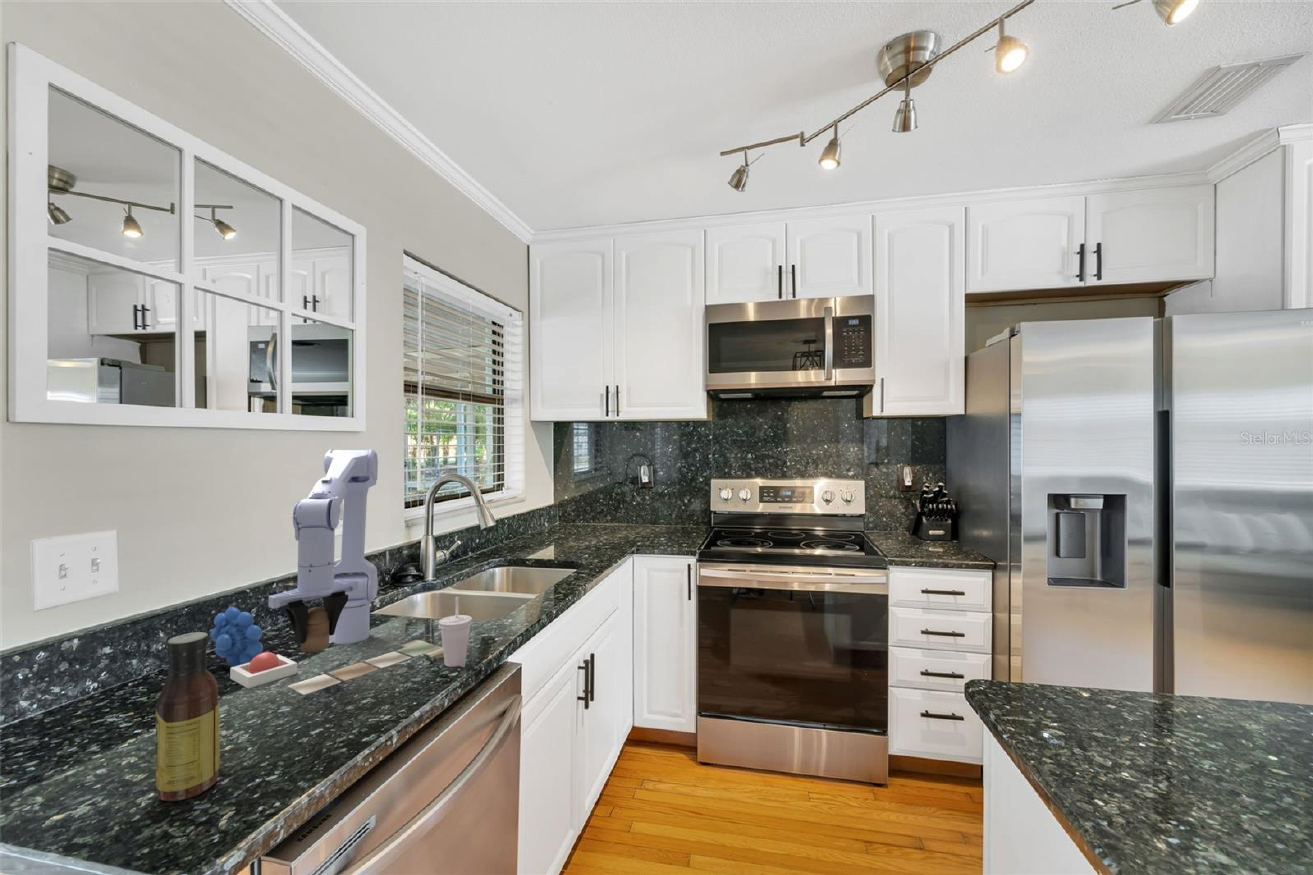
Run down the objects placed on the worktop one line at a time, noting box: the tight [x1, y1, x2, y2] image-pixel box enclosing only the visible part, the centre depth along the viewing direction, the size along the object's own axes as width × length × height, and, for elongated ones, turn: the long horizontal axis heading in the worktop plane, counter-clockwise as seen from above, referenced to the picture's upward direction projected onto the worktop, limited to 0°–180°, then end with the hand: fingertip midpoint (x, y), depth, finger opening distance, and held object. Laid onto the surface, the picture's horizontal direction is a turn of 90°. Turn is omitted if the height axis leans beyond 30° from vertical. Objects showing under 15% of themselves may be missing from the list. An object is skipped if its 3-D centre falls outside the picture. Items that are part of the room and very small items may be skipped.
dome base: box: [229, 653, 298, 690], centre depth 104 cm, size 8×8×3 cm
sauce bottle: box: [155, 631, 220, 802], centre depth 71 cm, size 7×6×20 cm
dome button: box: [248, 651, 280, 674], centre depth 104 cm, size 5×5×5 cm
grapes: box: [210, 606, 264, 668], centre depth 109 cm, size 12×7×12 cm, turn 79°
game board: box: [286, 639, 444, 696], centre depth 109 cm, size 12×28×1 cm, turn 147°
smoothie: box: [438, 596, 473, 668], centre depth 110 cm, size 6×6×14 cm
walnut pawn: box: [300, 606, 330, 653], centre depth 100 cm, size 4×4×7 cm
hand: (315, 638), depth 100 cm, fingers closed on walnut pawn, 4 cm apart
